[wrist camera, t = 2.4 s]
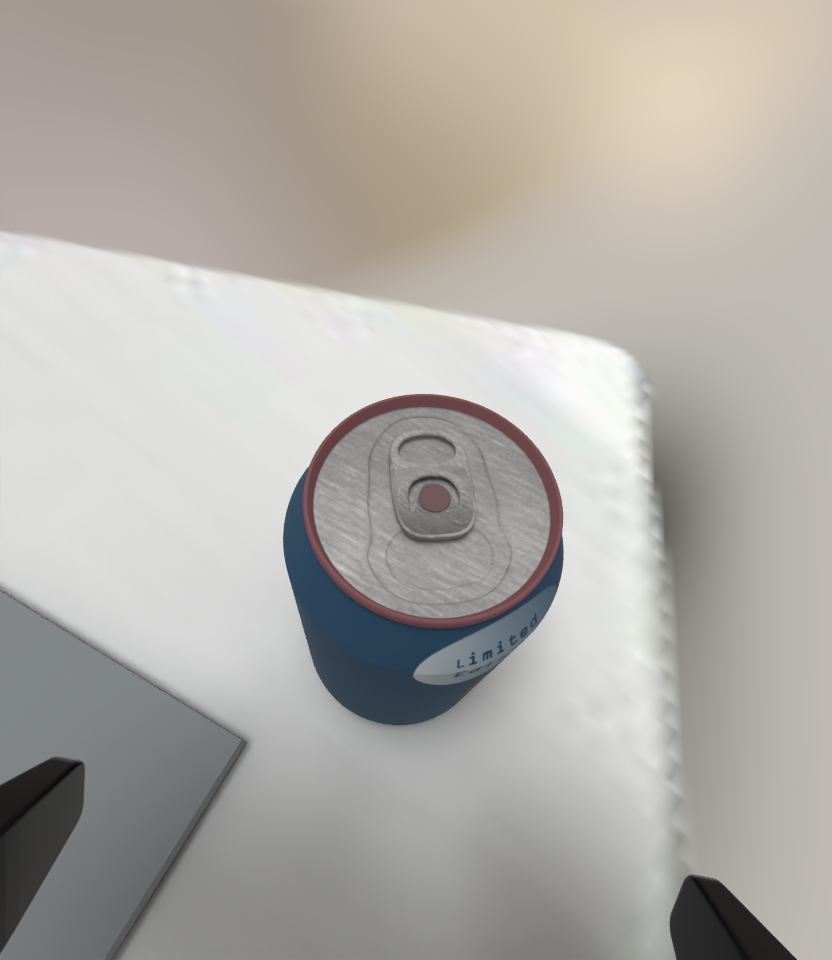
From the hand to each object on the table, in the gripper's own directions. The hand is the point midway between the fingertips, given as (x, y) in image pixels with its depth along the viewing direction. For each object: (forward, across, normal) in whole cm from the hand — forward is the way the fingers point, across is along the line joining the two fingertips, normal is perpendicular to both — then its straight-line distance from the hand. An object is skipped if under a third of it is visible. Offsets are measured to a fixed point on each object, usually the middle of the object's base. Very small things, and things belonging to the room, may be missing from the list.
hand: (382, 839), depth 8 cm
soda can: (+14, 0, +5) cm, 14 cm away
